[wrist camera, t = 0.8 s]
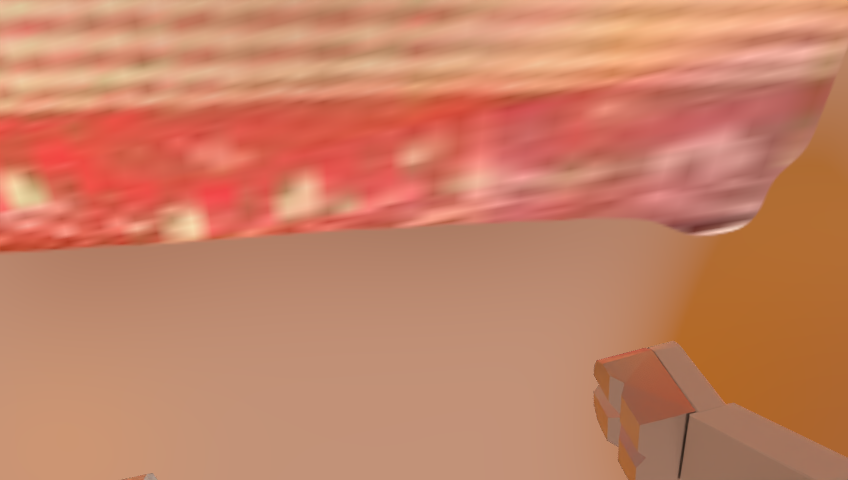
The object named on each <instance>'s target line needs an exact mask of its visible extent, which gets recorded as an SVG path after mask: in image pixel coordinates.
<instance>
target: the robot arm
mask: <svg viewBox="0 0 848 480" xmlns="http://www.w3.org/2000/svg"><path fill="white" fill-rule="evenodd" d="M594 376H595V378H596V380H597V382H598V384H599V385H598V387H597V388H596V389H595V391H594V407H595V412H596V416H597V420H598V422H599V424H600V427H601V429H602V431H603V433H604V435H605V437H606V439H607V441H609V442H610V443H612V444H614V445H616V446H617V447H618V462H619V463H620V465H621V467H622V469H623V471H624V473H625V474H626V476H627V478H628V480H848V458H847V457H845V456H843V455H841V454H838V453H836V452H834V451H832V450H830V449H828V448H826V447H824V446H822V445H820V444H817V443H816V442H814V441H812V440H809V439H807V438H805V437H803V436H801V435H799V434H797V433H795V432H793V431H791V430H789V429H787V428H785V427H783V426H780V425H778V424H776V423H774V422H772V421H770V420H768V419H766V418H764V417H762V416H760V415H758V414H756V413H754V412H751V411H749V410H747V409H745V408H743V407H741V406H739V405H737V404H735V403H731V404H725V403H724V401H723V400H722V399H721V398H720V396H719V395H718V394H717V393H716V391H715V390H714V389H713V387H712V386H711V385H710V384H709V382H708V381H707V380H706V378H705V377H704V376H703V375H702V373H701V372H700V371H699V369H698V368H697V367H696V366H695V364H694V363H693V362H692V360H691V359H690V358H689V357H688V356H687V354H686V353H685V351H684V350H683V349H682V348H681V346H680V345H679V344H678V343H676V342H674V341H671V342H668V343H663V344H660V345H656V346H652V347H648V348H642V349H639V350H635V351H631V352H627V353H623V354H620V355H616V356H612V357H608V358H604V359H601V360H597V361H596V363H595V365H594ZM122 480H157V479H156V477H155V476H154V474H153V473H151V474H145V475H140V476H136V477H132V478H127V479H122Z"/></svg>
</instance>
